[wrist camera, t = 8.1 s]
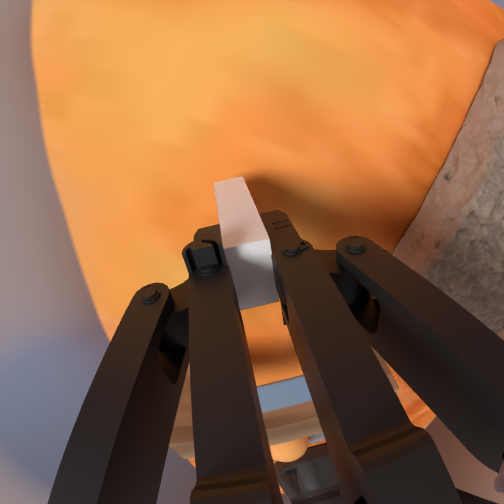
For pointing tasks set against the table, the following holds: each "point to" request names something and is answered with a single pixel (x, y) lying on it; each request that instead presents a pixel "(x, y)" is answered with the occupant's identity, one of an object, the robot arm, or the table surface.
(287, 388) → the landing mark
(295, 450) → the ball
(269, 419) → the bridge
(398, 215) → the table surface
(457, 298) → the stone tablet
